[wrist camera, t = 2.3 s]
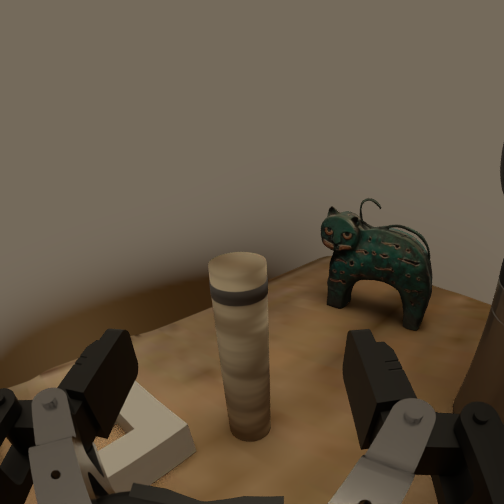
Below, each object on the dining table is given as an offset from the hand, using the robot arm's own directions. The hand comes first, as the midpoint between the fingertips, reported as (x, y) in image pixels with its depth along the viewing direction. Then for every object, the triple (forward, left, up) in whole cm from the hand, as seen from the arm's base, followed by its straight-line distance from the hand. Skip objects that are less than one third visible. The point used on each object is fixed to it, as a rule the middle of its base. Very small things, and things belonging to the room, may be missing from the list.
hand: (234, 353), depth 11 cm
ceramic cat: (-41, -7, -22) cm, 48 cm away
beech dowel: (-10, -9, -22) cm, 26 cm away
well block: (+4, -18, -22) cm, 29 cm away
